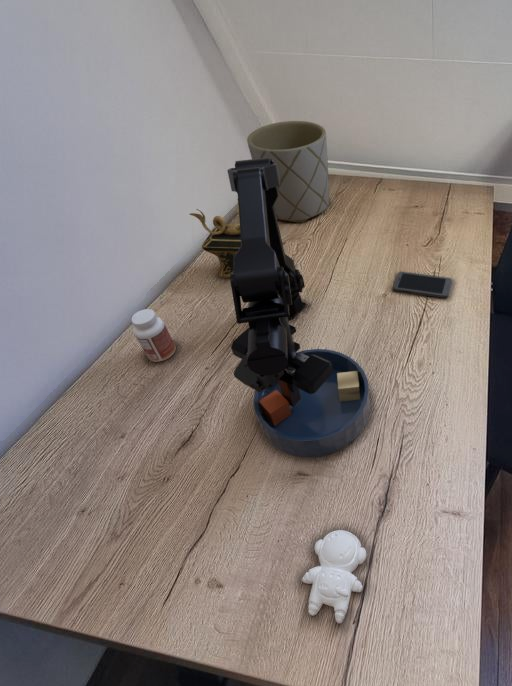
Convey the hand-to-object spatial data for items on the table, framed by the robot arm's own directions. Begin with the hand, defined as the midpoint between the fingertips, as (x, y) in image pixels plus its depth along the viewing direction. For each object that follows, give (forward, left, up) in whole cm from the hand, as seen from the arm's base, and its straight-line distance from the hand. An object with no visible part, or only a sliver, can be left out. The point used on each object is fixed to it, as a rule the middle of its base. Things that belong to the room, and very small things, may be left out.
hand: (289, 387), depth 84 cm
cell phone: (+4, +46, -6) cm, 47 cm away
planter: (-50, +62, -6) cm, 80 cm away
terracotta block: (-2, -3, -6) cm, 7 cm away
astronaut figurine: (+25, -20, -6) cm, 32 cm away
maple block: (+7, +8, -6) cm, 12 cm away
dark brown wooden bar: (0, 0, -4) cm, 4 cm away
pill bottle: (-35, -4, -6) cm, 36 cm away
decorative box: (-42, +28, -6) cm, 51 cm away
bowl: (+4, +2, -6) cm, 7 cm away
